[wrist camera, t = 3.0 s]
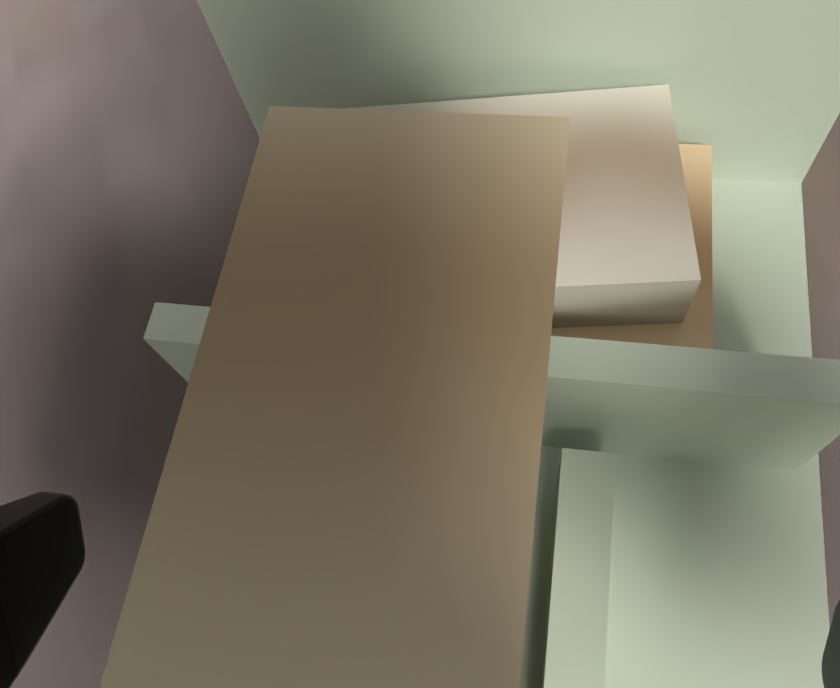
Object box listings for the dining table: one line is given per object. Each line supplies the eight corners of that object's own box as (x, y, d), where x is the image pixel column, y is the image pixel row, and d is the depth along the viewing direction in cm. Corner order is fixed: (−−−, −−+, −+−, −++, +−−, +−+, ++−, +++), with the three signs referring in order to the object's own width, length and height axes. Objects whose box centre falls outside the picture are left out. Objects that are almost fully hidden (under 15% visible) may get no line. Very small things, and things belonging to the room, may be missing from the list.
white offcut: (682, 322, 16) (701, 279, 14) (343, 336, 17) (324, 297, 15) (655, 139, 18) (669, 84, 16) (353, 159, 19) (337, 108, 17)
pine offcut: (694, 397, 17) (712, 365, 16) (308, 361, 19) (288, 328, 17) (695, 191, 19) (711, 144, 18) (350, 173, 21) (337, 129, 19)
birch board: (508, 817, 14) (476, 1182, 3) (381, 793, 15) (-8, 1051, 4) (536, 498, 17) (570, 116, 6) (427, 485, 17) (270, 106, 6)
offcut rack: (836, 1010, 13) (1114, 1279, 7) (90, 849, 15) (-190, 945, 9) (789, 177, 20) (906, -52, 14) (282, 152, 23) (194, -53, 16)
